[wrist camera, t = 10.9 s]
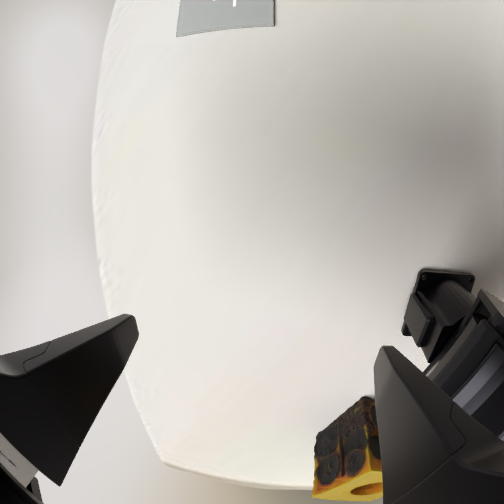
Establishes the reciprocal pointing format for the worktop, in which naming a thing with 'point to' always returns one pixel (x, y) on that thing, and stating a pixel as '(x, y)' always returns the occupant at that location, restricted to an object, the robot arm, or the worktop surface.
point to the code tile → (223, 15)
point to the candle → (349, 456)
